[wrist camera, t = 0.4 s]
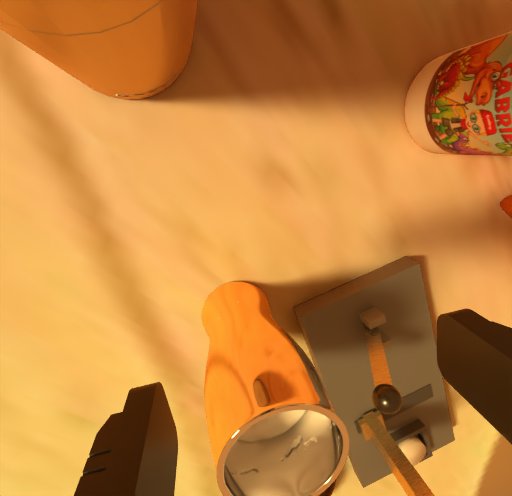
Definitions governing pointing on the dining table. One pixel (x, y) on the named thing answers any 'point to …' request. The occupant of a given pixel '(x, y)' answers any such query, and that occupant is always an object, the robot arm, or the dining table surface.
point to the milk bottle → (464, 101)
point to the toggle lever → (381, 375)
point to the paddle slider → (393, 455)
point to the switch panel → (397, 355)
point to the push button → (413, 449)
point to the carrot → (507, 205)
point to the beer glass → (265, 403)
